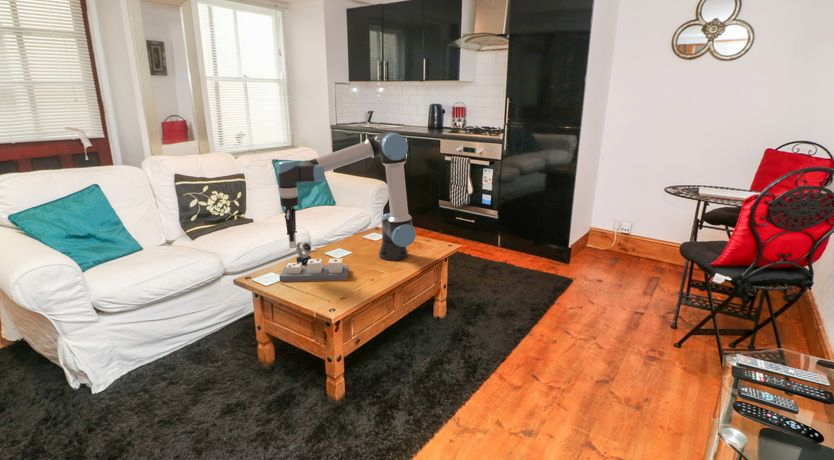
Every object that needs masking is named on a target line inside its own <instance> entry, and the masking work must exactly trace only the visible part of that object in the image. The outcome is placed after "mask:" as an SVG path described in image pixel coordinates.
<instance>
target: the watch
mask: <svg viewBox="0 0 834 460" xmlns="http://www.w3.org/2000/svg"><path fill="white" fill-rule="evenodd" d="M295 249H296V252H297V255H298V257H296V263H302V266H305V265H307V262H308V260H309V259H312V257H311V252H312V245H311V244H310V243H309V242H307V241H304V240H303V241H299V242H296V248H295ZM303 252H304V254H303Z"/></svg>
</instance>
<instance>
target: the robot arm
mask: <svg viewBox="0 0 834 460" xmlns="http://www.w3.org/2000/svg"><path fill="white" fill-rule="evenodd" d="M408 149H409V143H408V141H407V139H406V138H405V137H404V136H403V135H401V134H400V133H397V132H391V131H383V132H380V133H378V134H375V135H372V136H370V137H368V138H366V139H365V140H364V141H362V142H360V143H357V144H355V145H354V144H353V145H351V146H347V147H345V148H342V149H340V150H337V151H333V152H330V153H327V154H325V155H322V156H319V157H318V156H317V157H315V158H313V159H309V160H304V161H302V162H300V164H299V165H297V164H296V162H295V160H282V161H280V162H278V164H277V174H278V177H277V178H278V185H279V189H278V192H279V196H280V205H281V207H284V208H285V210H284V214H285V215H284V219H285V225H286V236H288V242H289V248H290V249H296V246H297V239H296V233H298V231H296V230H297V224H296V221H297V218H296V215H297V214H296V213H297V211H296V208H295V207H296V206H298V205H299V197H298V196H299V194H298V193H299V191H298V183H319V182H323V181H324V180H325V173H326V172H330V171H332V170H336V169H338V168H340V167H344V166H347V165H350V164H353V163H355V162H359V161H361V160H364V159H367V158H372V159H375V158H376V157H380V160H381V164H382V165H383V166H384V167H385V177H386V185H387V194H388V195H387V197H388V203H389V205H388V206H389V212H388V213H387V212H386V213H384V214H382V215H381V236H382V237H381V239H382V240H381V246H380V248H379V252H378V257H379V258H380V259H381V260H386V261H401V259H402V260H404V258H405V259H407V258H408V257H407V256H409V255H408V254H409V251H408V249H407V247H408V246H410V245H412V244H413V242H414V241H415V240H416V238H417V237H416V236H417V232H416V229H415V227H414V226H413V217H412V216H411V215H410V214H409V209H408V197H407V196H408V195H407V187H406V178H405V177H406V176H405V168H404V167H405V166H404V165H405V164H406V163H407V154H408V151H409V150H408ZM406 257H407V258H406Z"/></svg>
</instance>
